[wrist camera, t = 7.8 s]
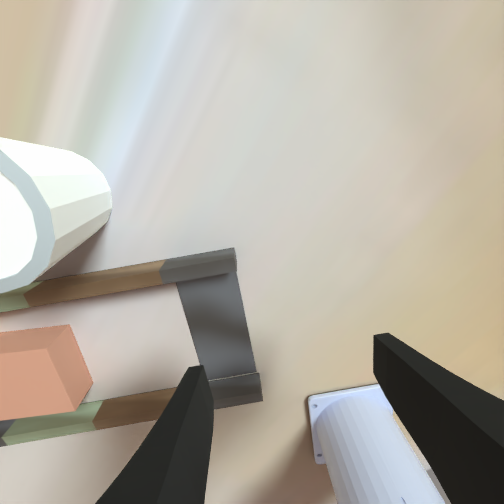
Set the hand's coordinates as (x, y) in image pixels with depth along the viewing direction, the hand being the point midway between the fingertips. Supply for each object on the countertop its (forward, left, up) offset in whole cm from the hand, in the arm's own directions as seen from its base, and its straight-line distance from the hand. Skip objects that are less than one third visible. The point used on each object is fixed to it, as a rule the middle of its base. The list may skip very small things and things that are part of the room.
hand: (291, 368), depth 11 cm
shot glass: (+8, +12, -10) cm, 17 cm away
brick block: (-4, +20, -10) cm, 22 cm away
